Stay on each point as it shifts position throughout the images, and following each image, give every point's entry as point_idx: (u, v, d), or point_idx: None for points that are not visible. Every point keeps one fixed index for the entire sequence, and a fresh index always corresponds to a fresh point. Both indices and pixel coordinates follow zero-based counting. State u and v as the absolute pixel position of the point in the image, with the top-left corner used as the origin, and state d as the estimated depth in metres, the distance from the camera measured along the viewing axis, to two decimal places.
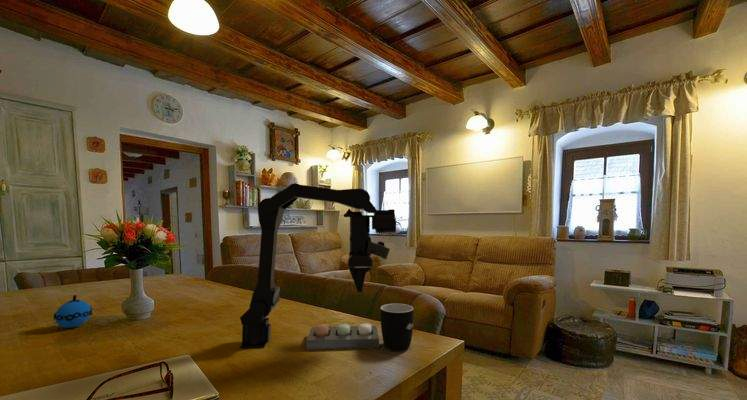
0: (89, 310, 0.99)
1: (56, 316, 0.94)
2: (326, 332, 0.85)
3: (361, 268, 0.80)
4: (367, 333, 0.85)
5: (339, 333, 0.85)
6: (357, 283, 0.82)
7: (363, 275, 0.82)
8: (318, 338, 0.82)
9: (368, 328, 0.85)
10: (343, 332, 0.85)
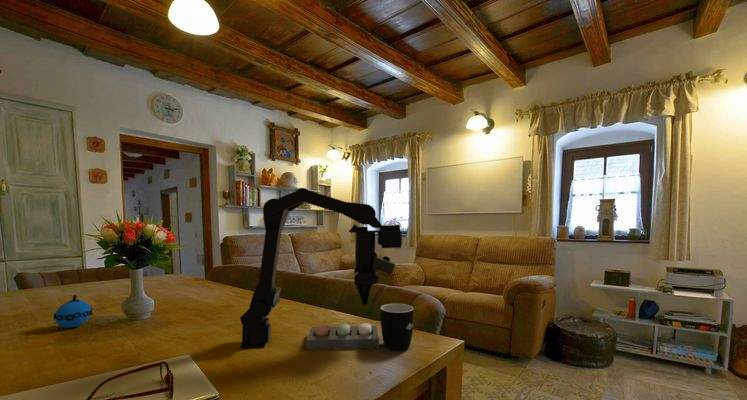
0: (89, 310, 0.99)
1: (56, 316, 0.94)
2: (326, 332, 0.85)
3: None
4: (367, 333, 0.85)
5: (339, 333, 0.85)
6: (362, 296, 0.86)
7: (368, 288, 0.86)
8: (318, 338, 0.82)
9: (368, 328, 0.85)
10: (343, 332, 0.85)
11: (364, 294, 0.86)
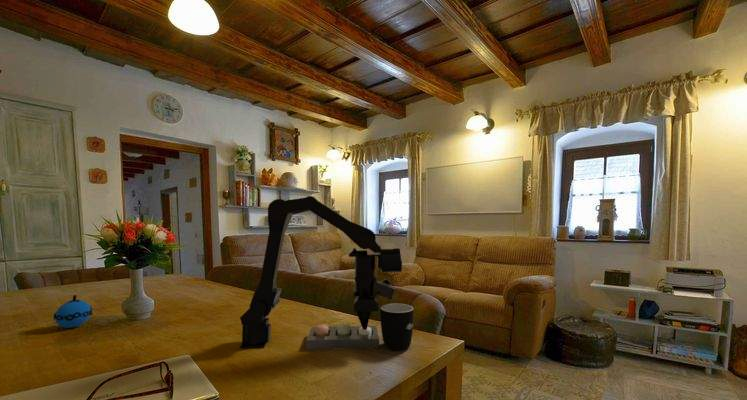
0: (89, 310, 0.99)
1: (56, 316, 0.94)
2: (326, 332, 0.85)
3: None
4: None
5: (339, 333, 0.85)
6: (362, 321, 0.86)
7: (368, 313, 0.85)
8: (318, 338, 0.82)
9: (368, 332, 0.85)
10: (343, 332, 0.85)
11: (364, 319, 0.86)
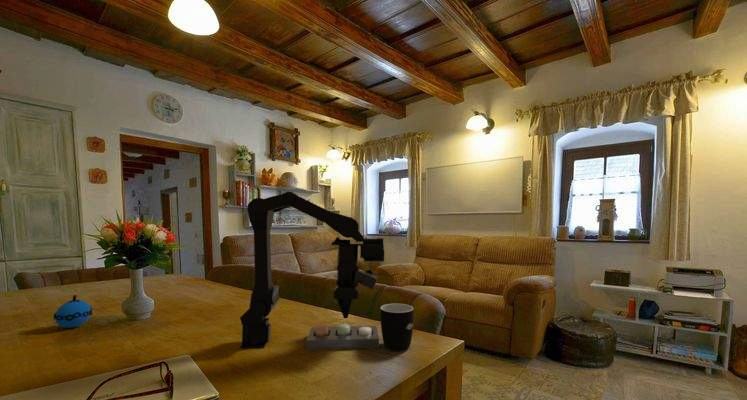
0: (89, 310, 0.99)
1: (56, 316, 0.94)
2: (326, 332, 0.85)
3: None
4: None
5: (339, 333, 0.85)
6: (343, 309, 0.86)
7: (349, 302, 0.85)
8: (318, 338, 0.82)
9: (368, 332, 0.85)
10: (343, 332, 0.85)
11: (345, 308, 0.86)
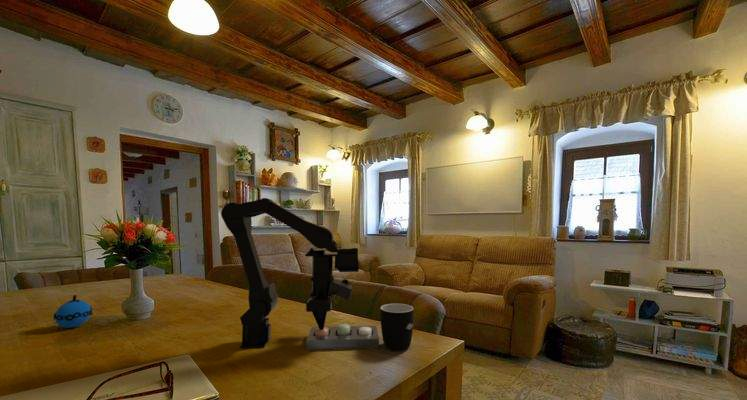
0: (89, 310, 0.99)
1: (56, 316, 0.94)
2: (326, 335, 0.85)
3: None
4: None
5: (339, 333, 0.85)
6: (318, 321, 0.85)
7: (324, 313, 0.85)
8: (318, 338, 0.82)
9: (368, 332, 0.85)
10: (343, 332, 0.85)
11: (320, 319, 0.85)
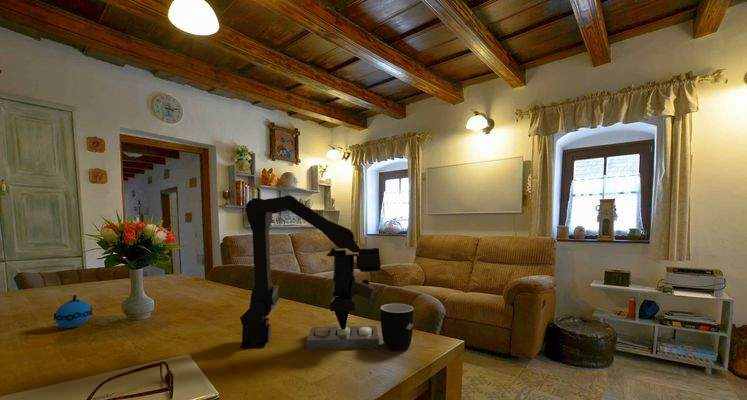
0: (89, 310, 0.99)
1: (56, 316, 0.94)
2: None
3: None
4: None
5: None
6: (340, 321, 0.85)
7: (346, 313, 0.85)
8: (318, 338, 0.82)
9: (368, 332, 0.85)
10: None
11: (342, 319, 0.85)
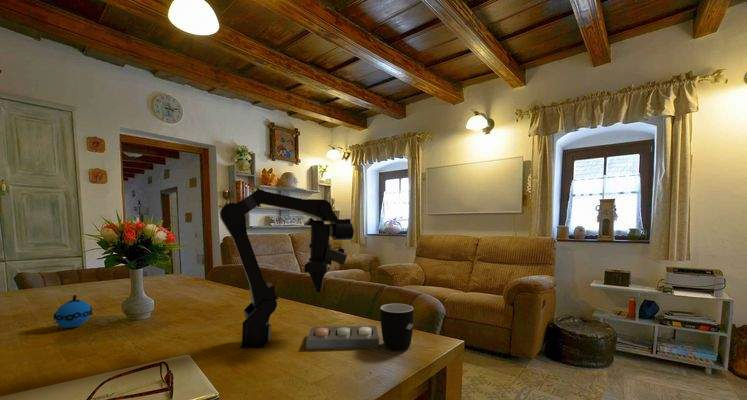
0: (89, 310, 0.99)
1: (56, 316, 0.94)
2: None
3: None
4: None
5: None
6: (316, 284, 0.93)
7: (321, 277, 0.93)
8: (318, 338, 0.82)
9: (368, 332, 0.85)
10: None
11: (318, 282, 0.93)
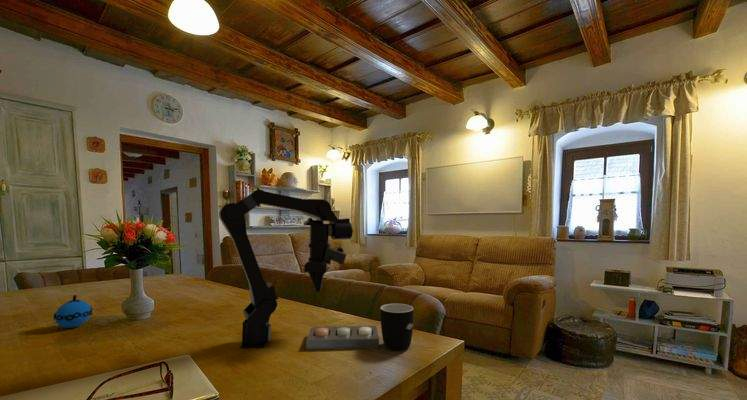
0: (89, 310, 0.99)
1: (56, 316, 0.94)
2: None
3: None
4: None
5: None
6: (315, 284, 0.94)
7: (321, 277, 0.93)
8: (318, 338, 0.82)
9: (368, 332, 0.85)
10: None
11: (317, 282, 0.93)
